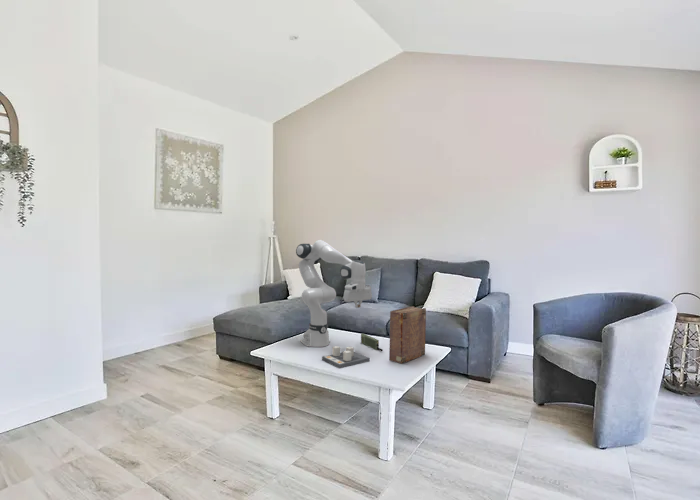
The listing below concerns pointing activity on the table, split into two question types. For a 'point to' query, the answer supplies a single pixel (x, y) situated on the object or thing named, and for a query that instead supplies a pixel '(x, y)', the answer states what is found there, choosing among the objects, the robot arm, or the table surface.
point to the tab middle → (350, 350)
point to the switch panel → (341, 363)
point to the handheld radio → (370, 342)
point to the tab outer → (346, 355)
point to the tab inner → (336, 351)
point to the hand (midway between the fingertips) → (357, 307)
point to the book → (407, 334)
